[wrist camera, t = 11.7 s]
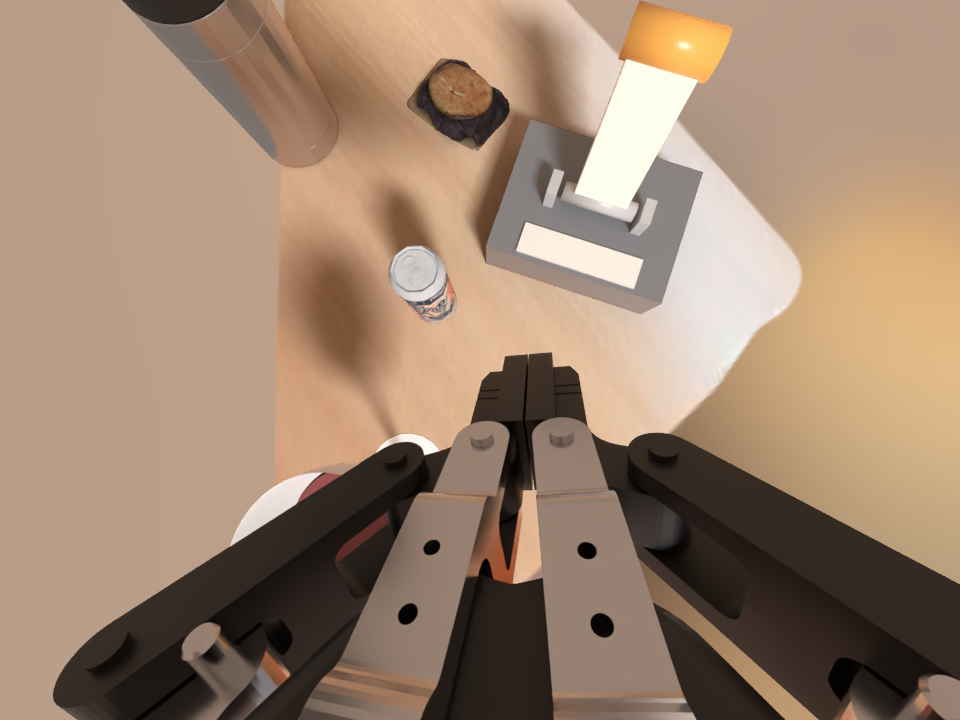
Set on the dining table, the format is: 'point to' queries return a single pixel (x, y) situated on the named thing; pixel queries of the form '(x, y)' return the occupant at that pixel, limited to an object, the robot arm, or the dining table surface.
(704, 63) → the breaker lever
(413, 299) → the beer can
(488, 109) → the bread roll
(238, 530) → the wineglass
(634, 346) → the dining table surface
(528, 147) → the block
